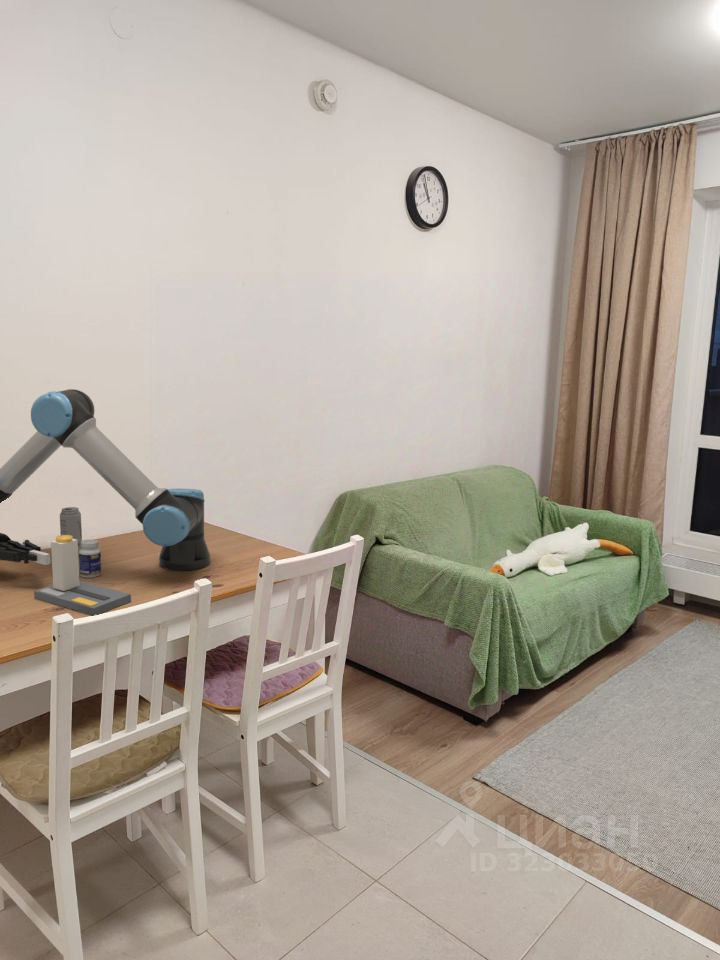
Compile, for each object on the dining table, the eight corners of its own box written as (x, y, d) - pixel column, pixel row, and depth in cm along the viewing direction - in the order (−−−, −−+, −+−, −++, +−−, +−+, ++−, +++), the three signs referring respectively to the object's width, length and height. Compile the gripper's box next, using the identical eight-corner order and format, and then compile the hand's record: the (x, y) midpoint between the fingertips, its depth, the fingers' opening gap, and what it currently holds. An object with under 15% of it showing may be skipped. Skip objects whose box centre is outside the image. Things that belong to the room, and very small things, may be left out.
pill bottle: (94, 579, 203) (93, 545, 201) (75, 577, 204) (74, 543, 202) (105, 572, 209) (103, 539, 207) (86, 571, 210) (85, 538, 208)
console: (34, 598, 187) (33, 590, 187) (72, 585, 198) (72, 577, 197) (93, 616, 177) (93, 607, 176) (131, 601, 187) (130, 593, 187)
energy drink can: (82, 558, 221) (80, 510, 218) (61, 559, 219) (58, 511, 216) (82, 552, 227) (80, 506, 224) (62, 554, 225) (60, 507, 222)
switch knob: (53, 588, 188) (50, 537, 186) (69, 582, 193) (66, 533, 190) (63, 591, 186) (61, 540, 184) (79, 585, 191) (77, 536, 188)
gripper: (13, 552, 209) (68, 566, 198) (-30, 563, 198) (27, 579, 187) (11, 527, 208) (67, 540, 196) (-32, 536, 196) (25, 551, 185)
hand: (47, 559), depth 192 cm, fingers closed
